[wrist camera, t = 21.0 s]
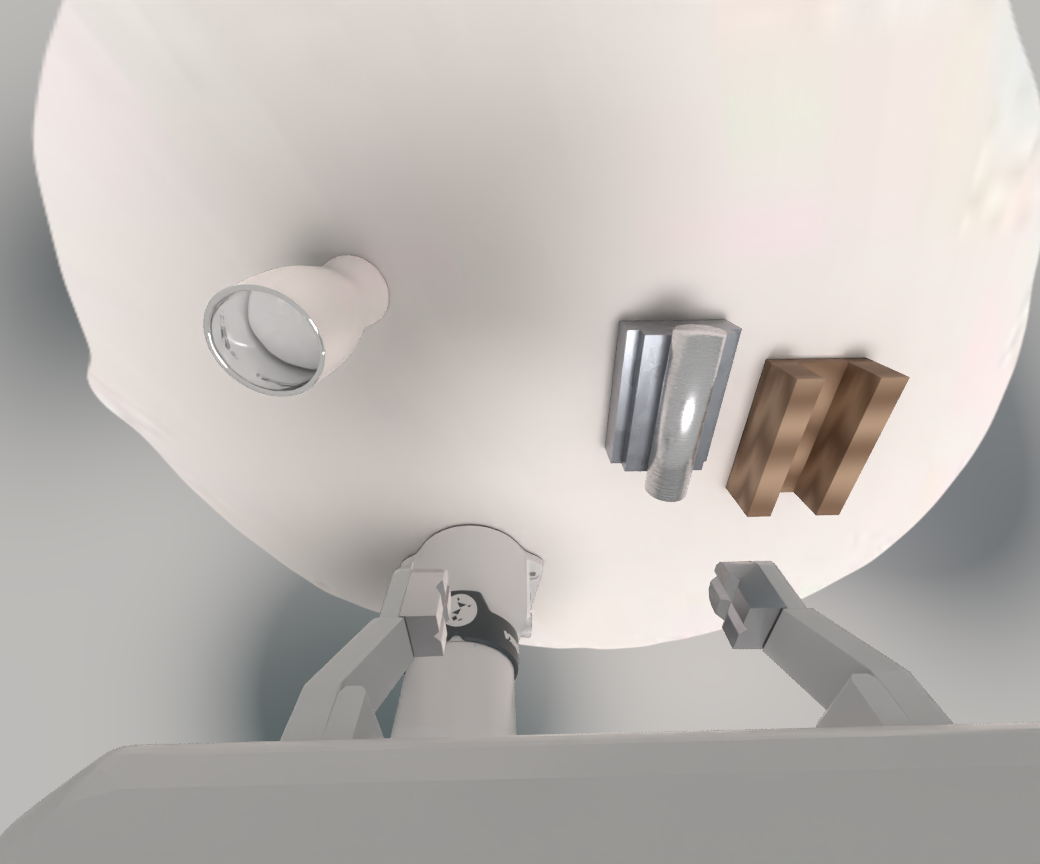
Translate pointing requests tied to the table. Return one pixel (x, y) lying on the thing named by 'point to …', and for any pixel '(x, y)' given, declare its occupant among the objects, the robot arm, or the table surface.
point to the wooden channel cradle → (811, 431)
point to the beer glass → (294, 322)
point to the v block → (654, 389)
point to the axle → (683, 408)
